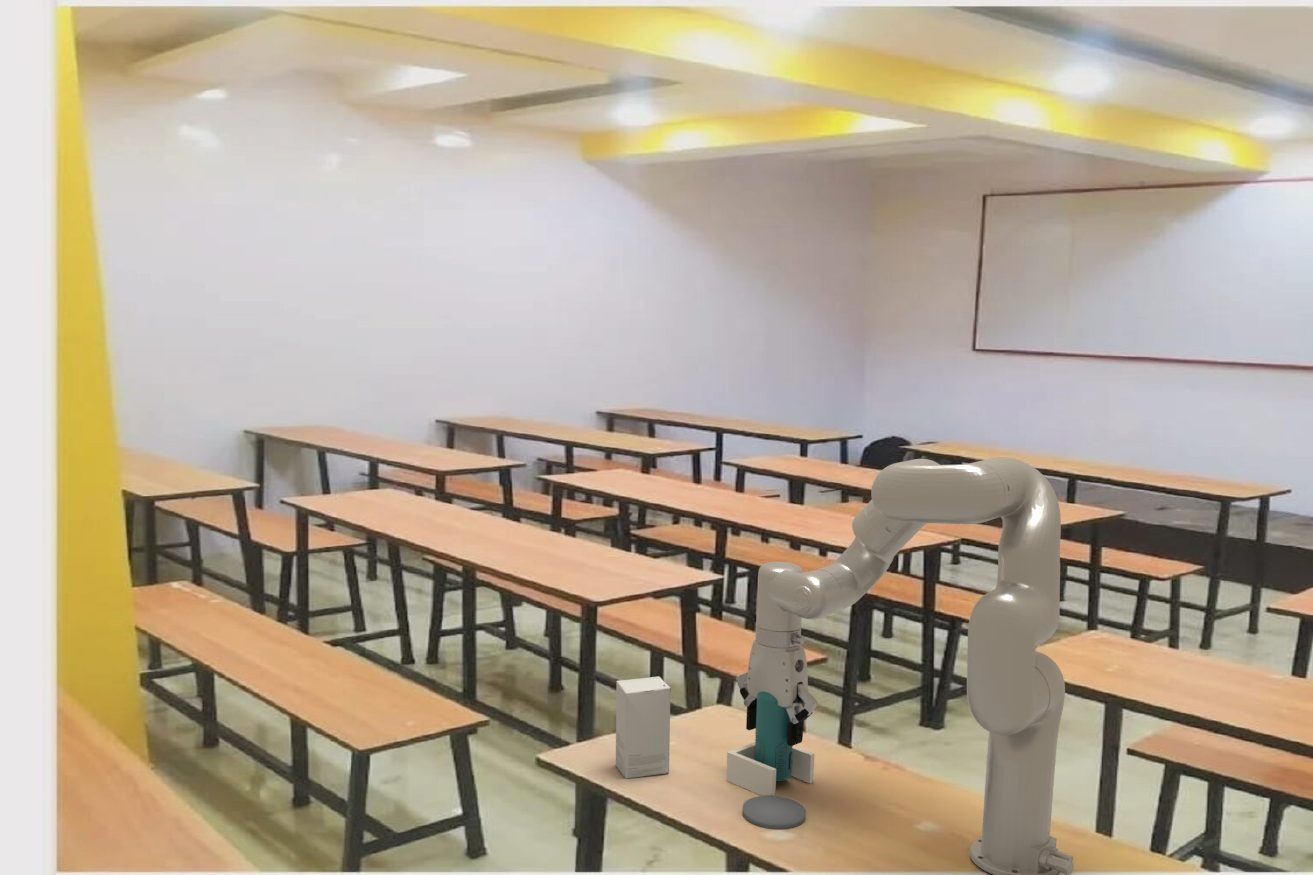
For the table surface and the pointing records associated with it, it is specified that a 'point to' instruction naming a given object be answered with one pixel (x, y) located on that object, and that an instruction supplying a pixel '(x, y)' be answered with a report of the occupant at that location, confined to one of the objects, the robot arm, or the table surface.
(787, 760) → the beverage bottle
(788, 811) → the pad
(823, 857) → the table surface
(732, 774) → the white u-shaped bracket
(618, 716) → the skincare box
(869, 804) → the table surface
